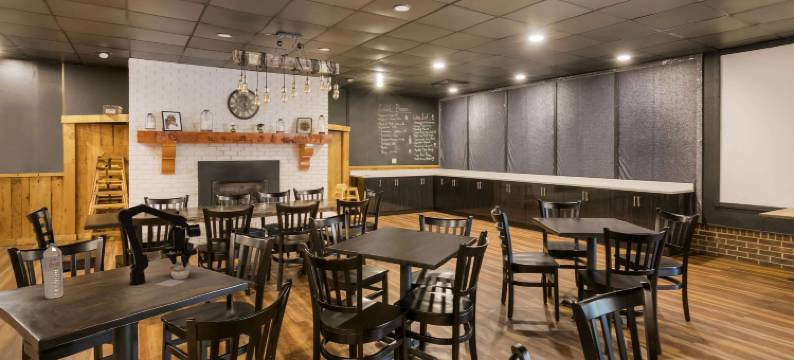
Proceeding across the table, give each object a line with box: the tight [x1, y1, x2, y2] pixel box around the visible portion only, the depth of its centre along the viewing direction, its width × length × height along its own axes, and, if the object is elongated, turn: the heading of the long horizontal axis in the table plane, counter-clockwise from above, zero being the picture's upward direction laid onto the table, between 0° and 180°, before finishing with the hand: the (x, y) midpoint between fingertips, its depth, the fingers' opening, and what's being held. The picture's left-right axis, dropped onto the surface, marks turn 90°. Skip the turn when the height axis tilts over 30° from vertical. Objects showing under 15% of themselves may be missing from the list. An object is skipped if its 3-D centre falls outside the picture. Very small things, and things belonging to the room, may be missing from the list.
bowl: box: [170, 267, 190, 280], centre depth 242 cm, size 8×8×5 cm
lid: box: [169, 261, 191, 271], centre depth 241 cm, size 6×8×2 cm
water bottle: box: [42, 242, 64, 300], centre depth 209 cm, size 7×7×25 cm
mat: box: [154, 278, 185, 287], centre depth 231 cm, size 10×10×1 cm
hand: (180, 267), depth 241 cm, fingers closed on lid, 6 cm apart
